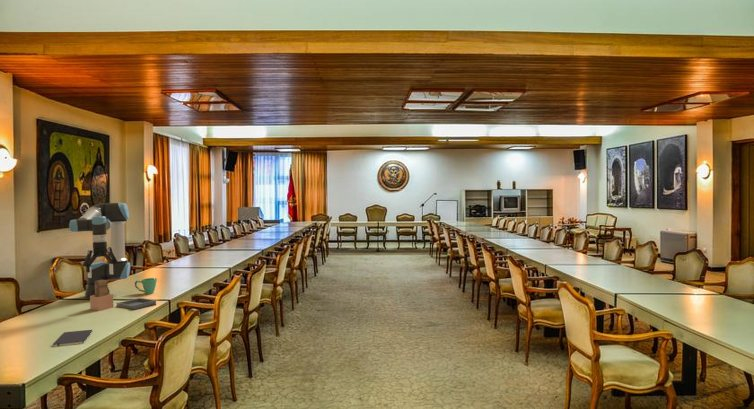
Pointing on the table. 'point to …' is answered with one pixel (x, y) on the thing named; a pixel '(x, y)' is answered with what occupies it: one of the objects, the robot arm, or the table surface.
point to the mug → (147, 285)
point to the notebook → (72, 337)
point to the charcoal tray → (137, 303)
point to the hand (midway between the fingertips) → (100, 276)
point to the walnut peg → (101, 288)
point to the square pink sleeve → (101, 302)
